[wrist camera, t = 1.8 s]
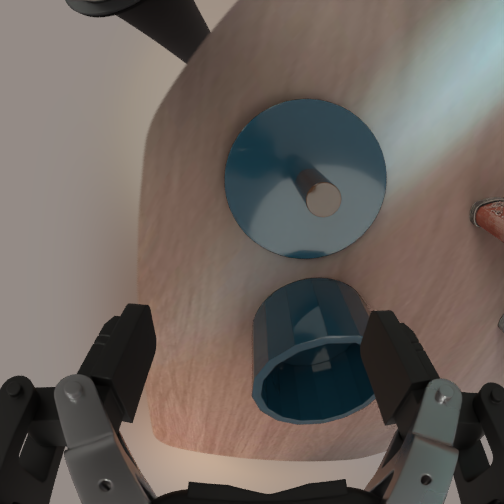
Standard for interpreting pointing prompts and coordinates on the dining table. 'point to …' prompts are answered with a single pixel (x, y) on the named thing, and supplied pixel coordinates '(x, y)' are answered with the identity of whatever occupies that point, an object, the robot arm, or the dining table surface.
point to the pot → (310, 353)
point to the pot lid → (305, 178)
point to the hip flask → (501, 323)
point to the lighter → (489, 216)
